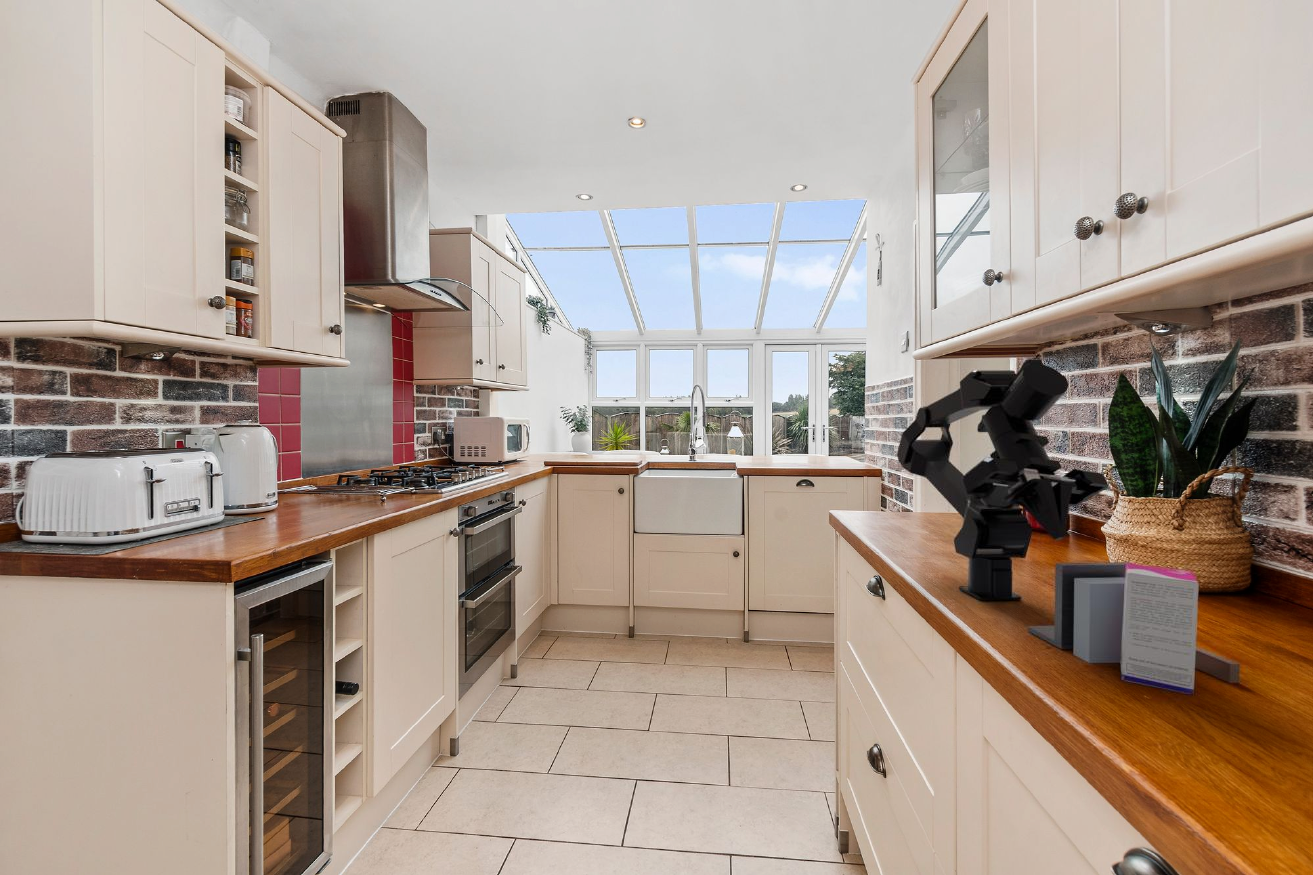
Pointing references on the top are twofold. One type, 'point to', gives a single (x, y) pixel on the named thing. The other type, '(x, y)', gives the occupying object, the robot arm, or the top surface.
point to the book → (1098, 619)
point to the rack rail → (1217, 666)
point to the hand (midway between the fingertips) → (1059, 538)
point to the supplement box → (1159, 627)
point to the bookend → (1072, 598)
